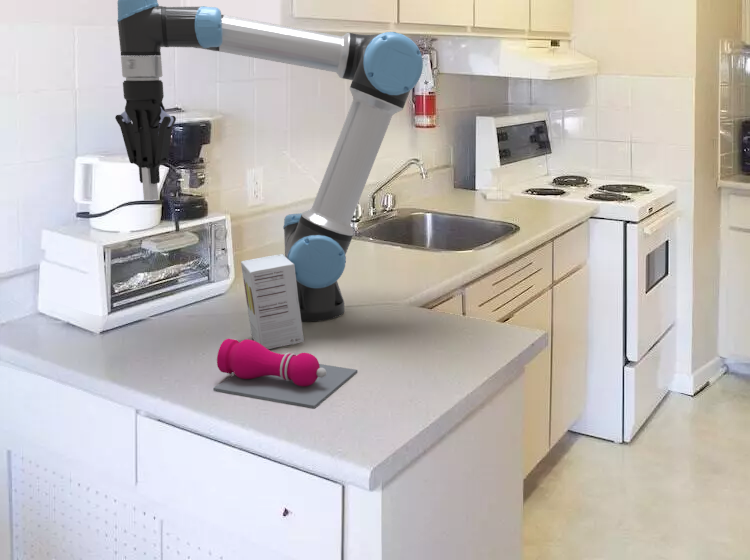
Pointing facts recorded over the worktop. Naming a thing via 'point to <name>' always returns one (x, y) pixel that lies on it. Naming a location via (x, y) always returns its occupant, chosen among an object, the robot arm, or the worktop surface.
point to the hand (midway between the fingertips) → (151, 199)
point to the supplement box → (272, 301)
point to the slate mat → (289, 387)
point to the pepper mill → (267, 362)
